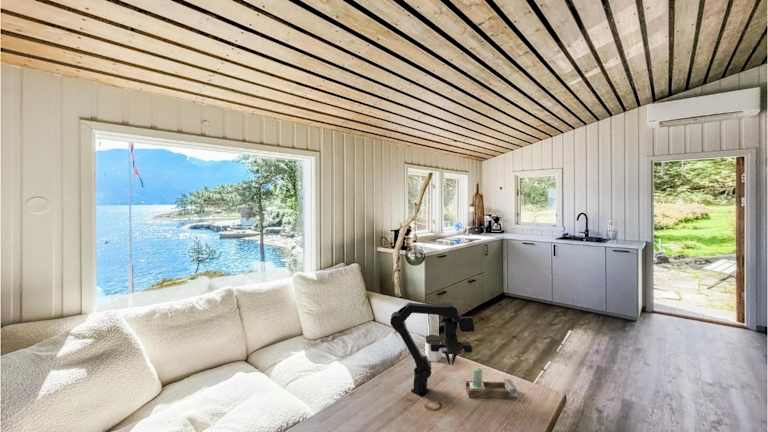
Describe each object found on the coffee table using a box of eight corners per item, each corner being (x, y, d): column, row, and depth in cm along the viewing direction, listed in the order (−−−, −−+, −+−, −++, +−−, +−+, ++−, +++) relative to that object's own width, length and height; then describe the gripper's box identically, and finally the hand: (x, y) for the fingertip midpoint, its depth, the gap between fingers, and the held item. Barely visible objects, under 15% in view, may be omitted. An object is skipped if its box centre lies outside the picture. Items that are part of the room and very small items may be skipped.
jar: (443, 361, 178) (443, 339, 178) (429, 362, 176) (429, 341, 176) (436, 354, 187) (436, 333, 187) (423, 355, 185) (423, 335, 185)
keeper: (471, 392, 145) (471, 372, 145) (469, 386, 150) (469, 366, 150) (485, 392, 144) (485, 372, 144) (482, 386, 149) (482, 367, 149)
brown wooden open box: (468, 398, 143) (468, 387, 143) (465, 388, 151) (465, 377, 151) (516, 399, 142) (517, 388, 142) (511, 389, 150) (511, 379, 150)
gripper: (431, 338, 140) (431, 373, 140) (474, 338, 139) (474, 374, 139) (429, 328, 151) (430, 361, 152) (469, 329, 150) (470, 362, 150)
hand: (450, 364), depth 148 cm, fingers closed
